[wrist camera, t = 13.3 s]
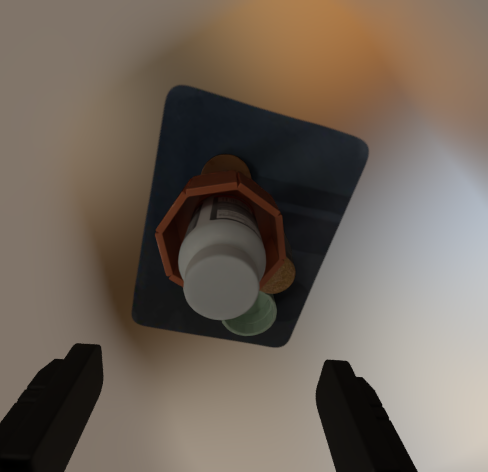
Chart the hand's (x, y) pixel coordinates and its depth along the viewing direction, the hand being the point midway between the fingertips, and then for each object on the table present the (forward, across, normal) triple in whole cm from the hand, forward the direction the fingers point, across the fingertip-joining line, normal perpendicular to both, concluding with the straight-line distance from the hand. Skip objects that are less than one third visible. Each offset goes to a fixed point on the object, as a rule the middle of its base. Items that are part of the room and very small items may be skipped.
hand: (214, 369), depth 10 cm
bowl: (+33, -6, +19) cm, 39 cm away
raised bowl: (+15, 0, 0) cm, 15 cm away
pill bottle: (+15, 0, 0) cm, 15 cm away
